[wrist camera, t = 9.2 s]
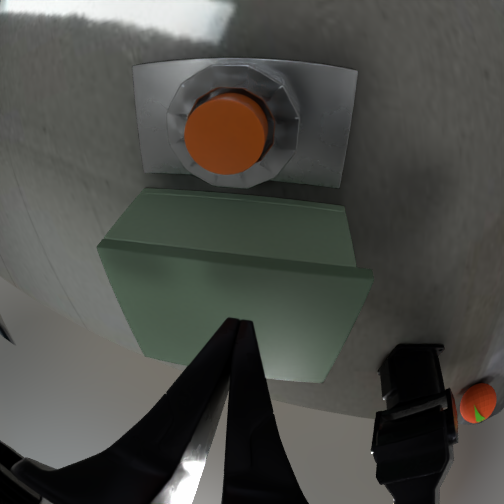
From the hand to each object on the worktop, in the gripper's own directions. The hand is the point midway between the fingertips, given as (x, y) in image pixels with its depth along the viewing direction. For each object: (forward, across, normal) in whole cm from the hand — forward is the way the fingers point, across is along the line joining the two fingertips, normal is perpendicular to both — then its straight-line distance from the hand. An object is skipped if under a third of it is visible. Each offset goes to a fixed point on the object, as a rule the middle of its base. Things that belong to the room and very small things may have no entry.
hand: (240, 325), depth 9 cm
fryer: (+11, +2, +7) cm, 13 cm away
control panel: (+11, +2, -4) cm, 12 cm away
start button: (+8, +2, -4) cm, 9 cm away
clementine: (+12, -37, +29) cm, 49 cm away
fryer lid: (+5, +2, +7) cm, 9 cm away
